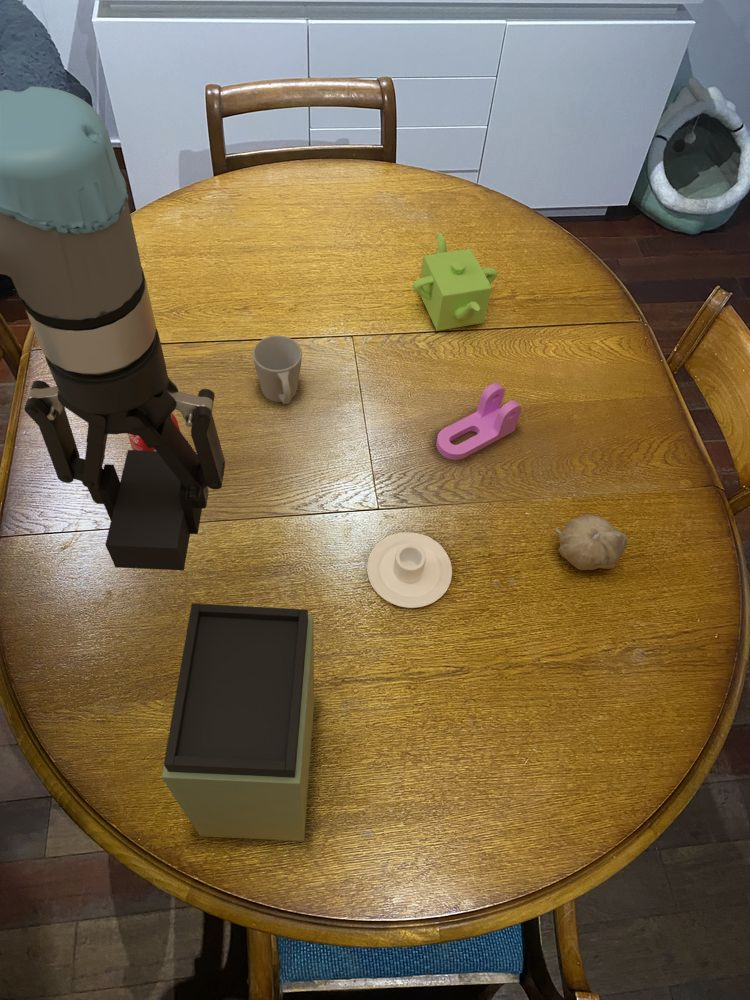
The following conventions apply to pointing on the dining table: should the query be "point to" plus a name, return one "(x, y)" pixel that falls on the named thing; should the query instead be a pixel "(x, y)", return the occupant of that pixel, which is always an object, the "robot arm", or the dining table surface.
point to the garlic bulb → (591, 542)
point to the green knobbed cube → (454, 287)
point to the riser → (253, 786)
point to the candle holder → (409, 569)
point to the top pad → (148, 516)
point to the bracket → (480, 425)
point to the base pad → (239, 692)
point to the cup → (278, 367)
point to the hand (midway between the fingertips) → (158, 519)
